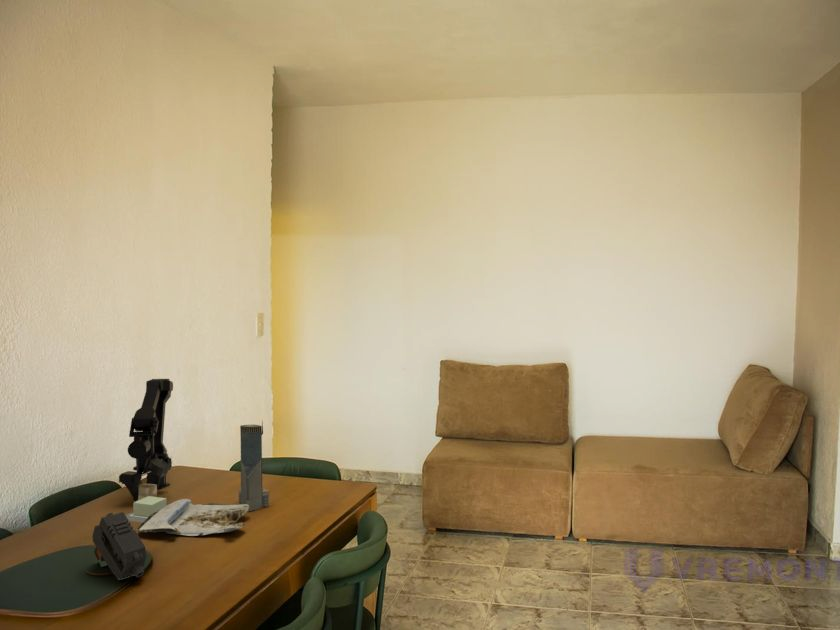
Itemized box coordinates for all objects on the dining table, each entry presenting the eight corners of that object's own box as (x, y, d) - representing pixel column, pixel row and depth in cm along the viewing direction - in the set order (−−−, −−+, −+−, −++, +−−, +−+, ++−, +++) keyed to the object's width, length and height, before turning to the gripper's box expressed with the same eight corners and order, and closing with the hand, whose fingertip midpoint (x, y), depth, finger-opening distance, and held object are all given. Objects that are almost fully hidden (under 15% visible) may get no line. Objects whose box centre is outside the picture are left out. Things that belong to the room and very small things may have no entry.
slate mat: (152, 504, 230) (151, 502, 230) (182, 508, 226) (182, 506, 226) (116, 520, 215) (116, 518, 215) (148, 524, 211) (148, 523, 211)
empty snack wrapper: (238, 545, 198) (238, 527, 197) (132, 544, 197) (132, 526, 197) (256, 512, 222) (256, 497, 221) (162, 511, 221) (161, 495, 221)
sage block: (148, 508, 225) (148, 496, 225) (166, 510, 223) (166, 498, 222) (133, 515, 218) (133, 502, 218) (151, 517, 216) (151, 504, 216)
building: (271, 503, 231) (270, 414, 230) (262, 512, 222) (262, 419, 220) (241, 502, 232) (240, 413, 231) (231, 511, 223) (230, 418, 222)
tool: (108, 546, 186) (121, 504, 181) (141, 599, 176) (156, 556, 170) (85, 553, 181) (98, 510, 176) (118, 608, 171) (132, 564, 166)
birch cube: (144, 497, 238) (144, 483, 237) (157, 499, 236) (156, 484, 236) (134, 502, 233) (134, 487, 233) (146, 503, 231) (146, 488, 231)
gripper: (145, 459, 222) (146, 508, 223) (182, 446, 240) (183, 491, 241) (117, 457, 226) (118, 504, 226) (156, 444, 243) (157, 488, 244)
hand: (145, 496), depth 234 cm, fingers open, 9 cm apart
